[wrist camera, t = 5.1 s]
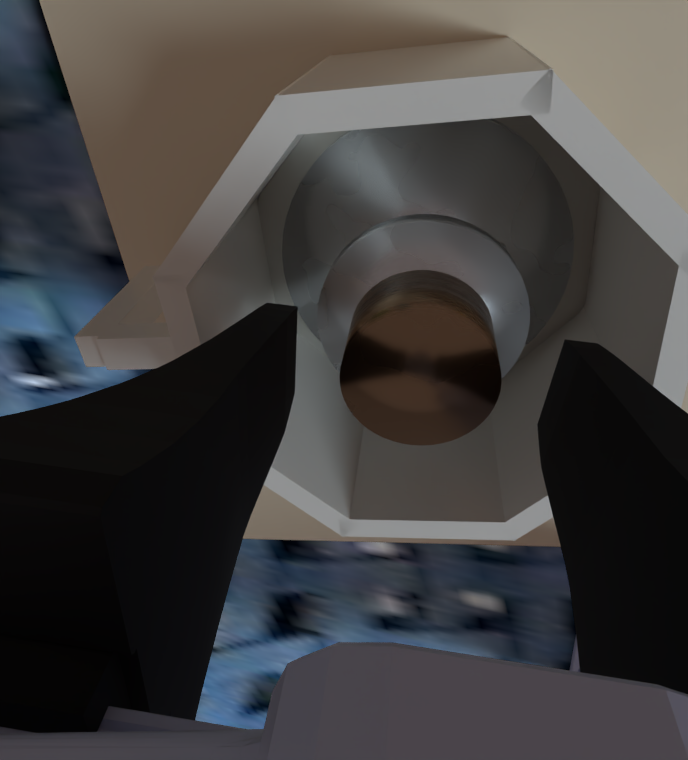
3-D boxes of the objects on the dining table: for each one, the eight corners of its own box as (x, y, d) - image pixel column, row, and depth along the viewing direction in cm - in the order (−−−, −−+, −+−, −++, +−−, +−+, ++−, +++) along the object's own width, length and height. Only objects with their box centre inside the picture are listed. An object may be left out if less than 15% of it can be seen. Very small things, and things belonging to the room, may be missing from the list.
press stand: (676, 537, 22) (755, 716, 17) (216, 526, 25) (156, 677, 20) (986, -532, 9) (1774, -1257, 4) (-42, -303, 12) (-430, -535, 7)
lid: (556, 371, 18) (605, 529, 13) (305, 376, 19) (259, 522, 14) (586, 91, 14) (679, 157, 9) (263, 119, 15) (176, 192, 10)
